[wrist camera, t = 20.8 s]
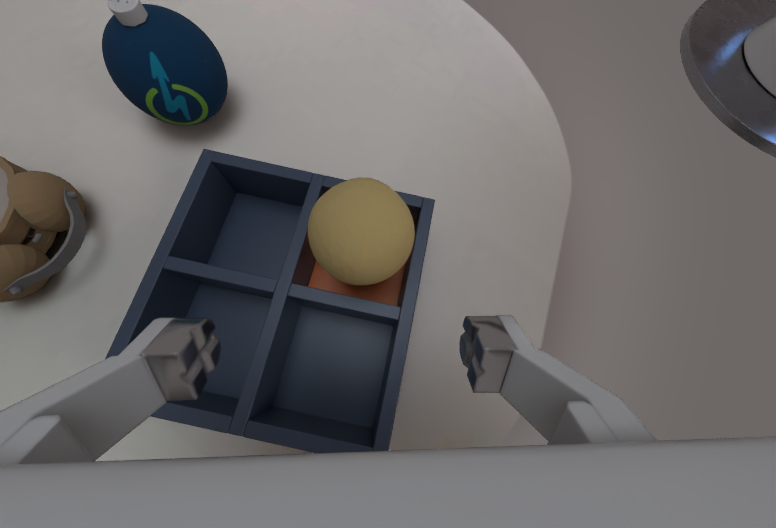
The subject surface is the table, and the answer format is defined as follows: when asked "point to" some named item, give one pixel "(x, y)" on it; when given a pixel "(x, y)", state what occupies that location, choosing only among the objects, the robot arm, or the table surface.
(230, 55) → the table surface
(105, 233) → the table surface
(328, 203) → the light bulb
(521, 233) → the table surface
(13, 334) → the table surface
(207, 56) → the christmas ornament
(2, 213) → the alarm clock
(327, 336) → the navy compartment tray
